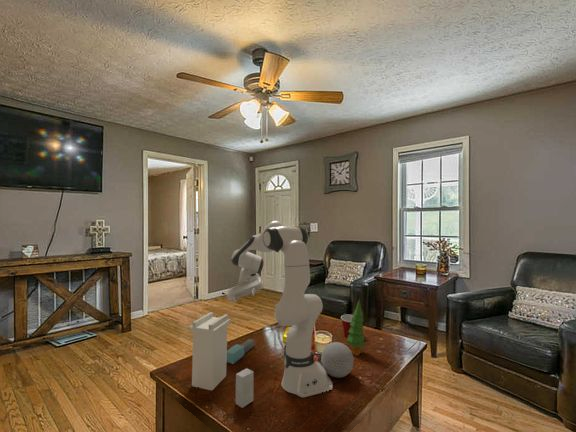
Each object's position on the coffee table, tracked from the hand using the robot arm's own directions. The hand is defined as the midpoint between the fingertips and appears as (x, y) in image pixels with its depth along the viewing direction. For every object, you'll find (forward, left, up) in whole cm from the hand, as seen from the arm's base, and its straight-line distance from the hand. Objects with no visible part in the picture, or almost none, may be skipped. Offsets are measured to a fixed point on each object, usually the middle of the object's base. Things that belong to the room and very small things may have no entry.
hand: (243, 298), depth 152 cm
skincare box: (+2, +35, -32) cm, 48 cm away
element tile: (-34, -20, -32) cm, 51 cm away
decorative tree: (-61, +3, -32) cm, 69 cm away
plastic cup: (-67, -18, -32) cm, 76 cm away
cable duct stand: (+16, +17, -31) cm, 39 cm away
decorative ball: (-42, +23, -32) cm, 58 cm away
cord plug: (0, -6, -32) cm, 32 cm away
